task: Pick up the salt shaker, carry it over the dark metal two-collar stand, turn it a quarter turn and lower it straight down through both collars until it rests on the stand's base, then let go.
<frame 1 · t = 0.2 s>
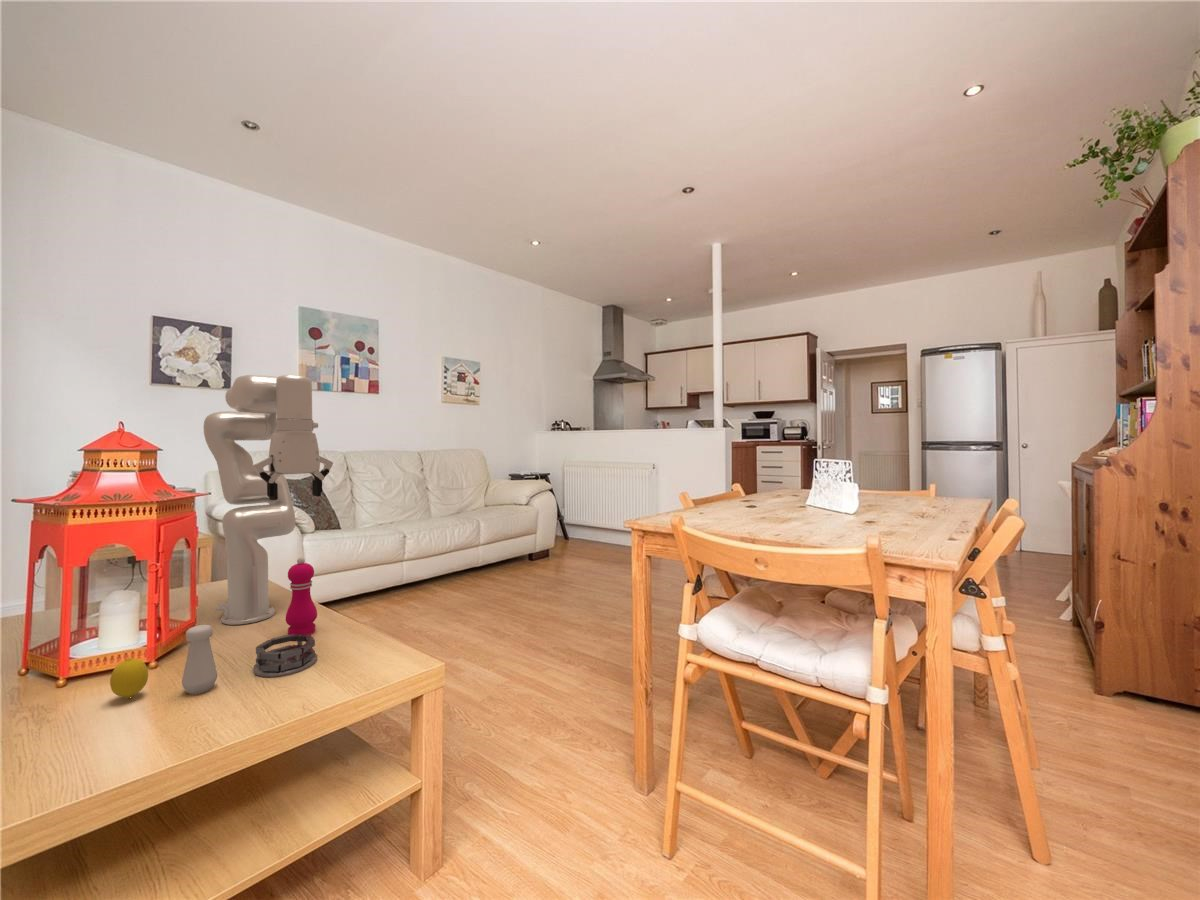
hand: (295, 497, 124), 37 cm above the table, tool pointing down, fingers open, 9 cm apart
salt shaker: (200, 690, 105), on the table
pepper mill: (301, 633, 135), on the table
lemon: (129, 699, 101), on the table
collar stand: (286, 664, 116), on the table
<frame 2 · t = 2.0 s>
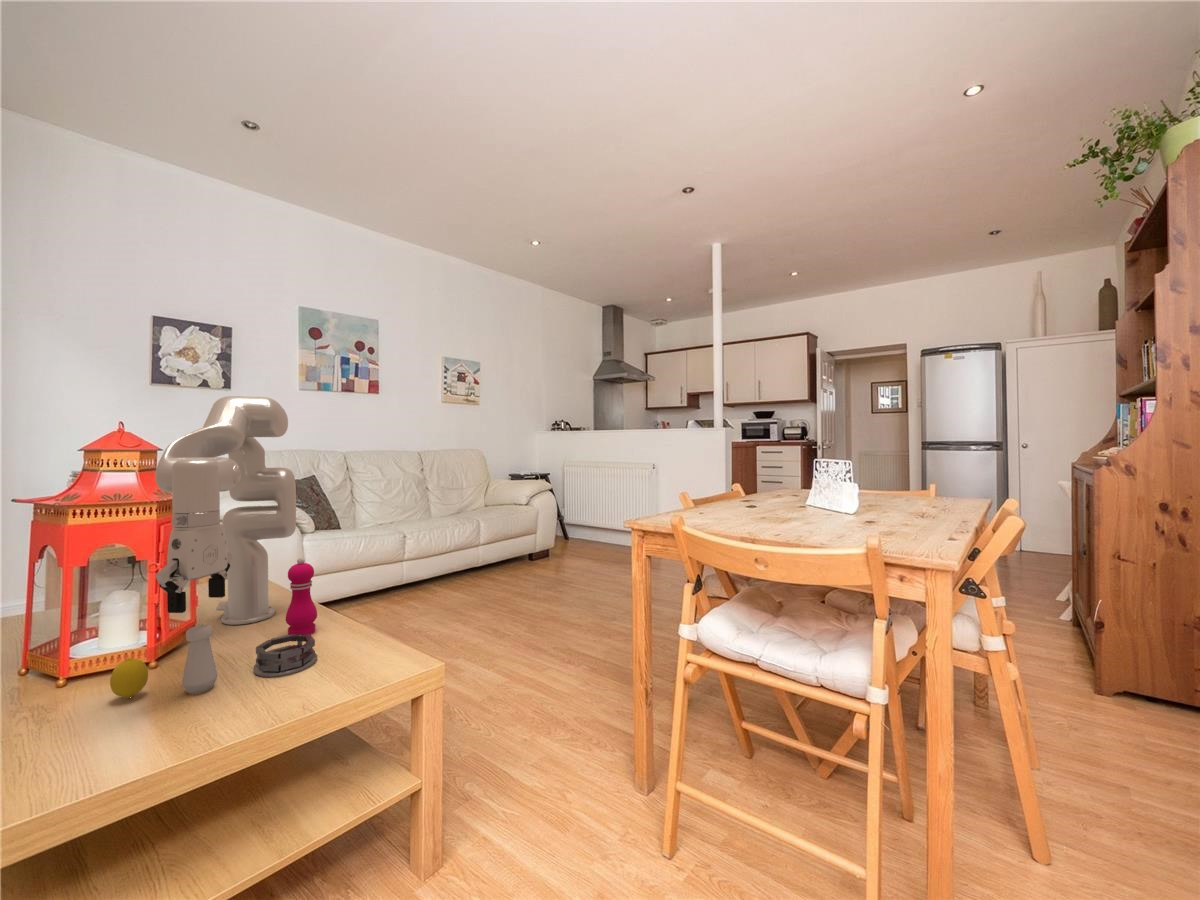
hand: (197, 604, 104), 18 cm above the table, tool pointing down, fingers open, 9 cm apart
nothing on the table moved.
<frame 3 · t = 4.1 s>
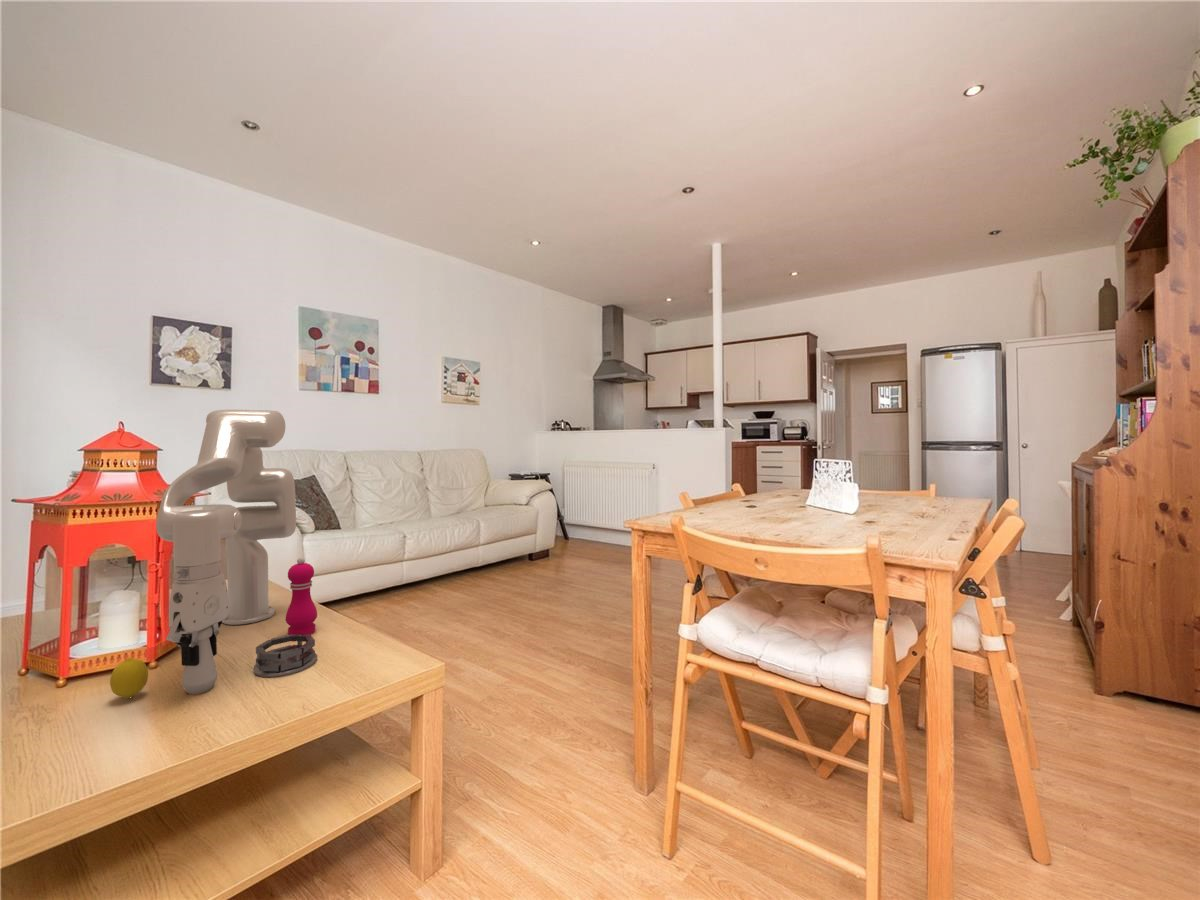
hand: (199, 659, 104), 6 cm above the table, tool pointing down, fingers closed on salt shaker, 3 cm apart
salt shaker: (200, 690, 105), on the table, touching gripper
everything else where it was.
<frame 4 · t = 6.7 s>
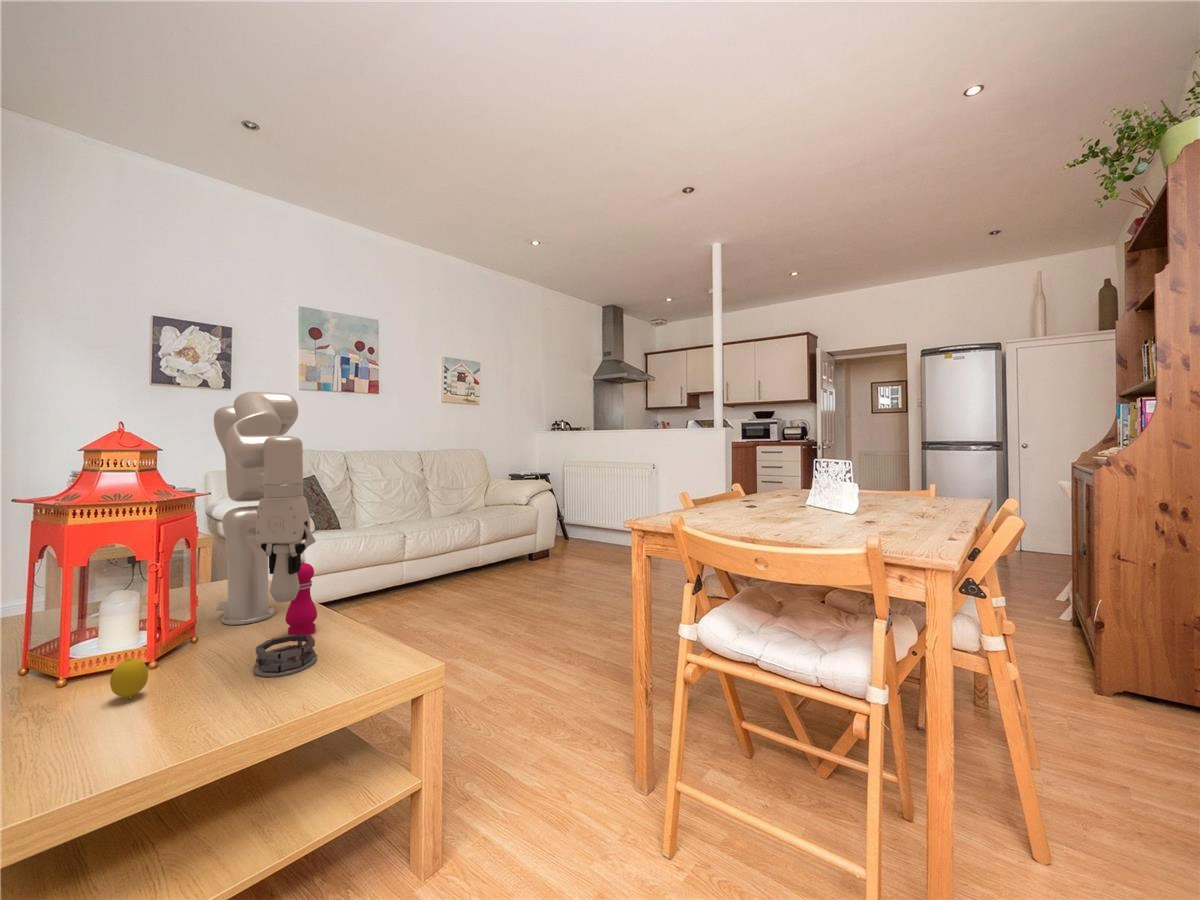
hand: (285, 571, 115), 21 cm above the table, tool pointing down, fingers closed on salt shaker, 3 cm apart
salt shaker: (285, 600, 116), point 15 cm above the table, touching gripper
everything else where it was.
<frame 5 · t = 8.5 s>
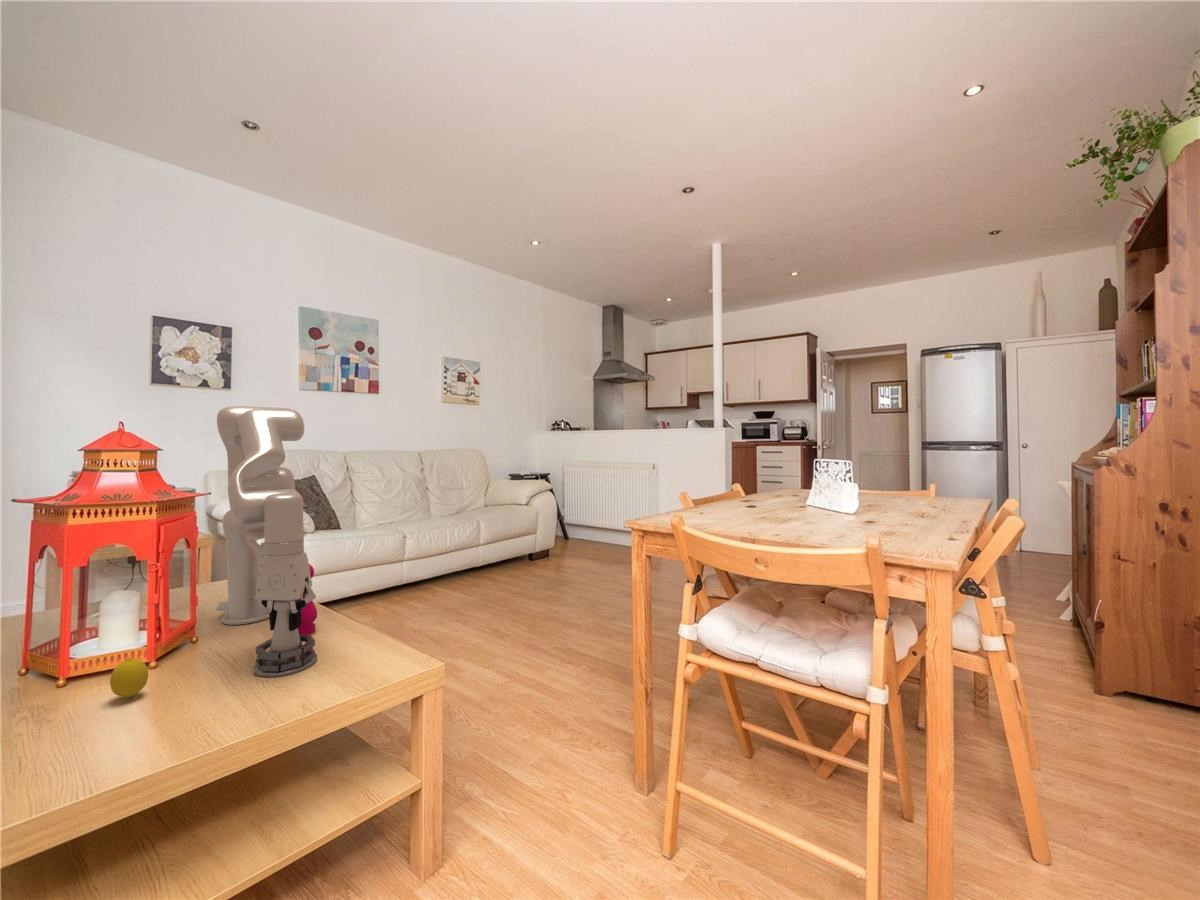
hand: (285, 627, 116), 8 cm above the table, tool pointing down, fingers closed on salt shaker, 3 cm apart
salt shaker: (285, 655, 116), point 2 cm above the table, touching gripper
everything else where it was.
when the fingers open (8 cm above the table, at t = 9.6 s): salt shaker stays where it is, resting on collar stand.
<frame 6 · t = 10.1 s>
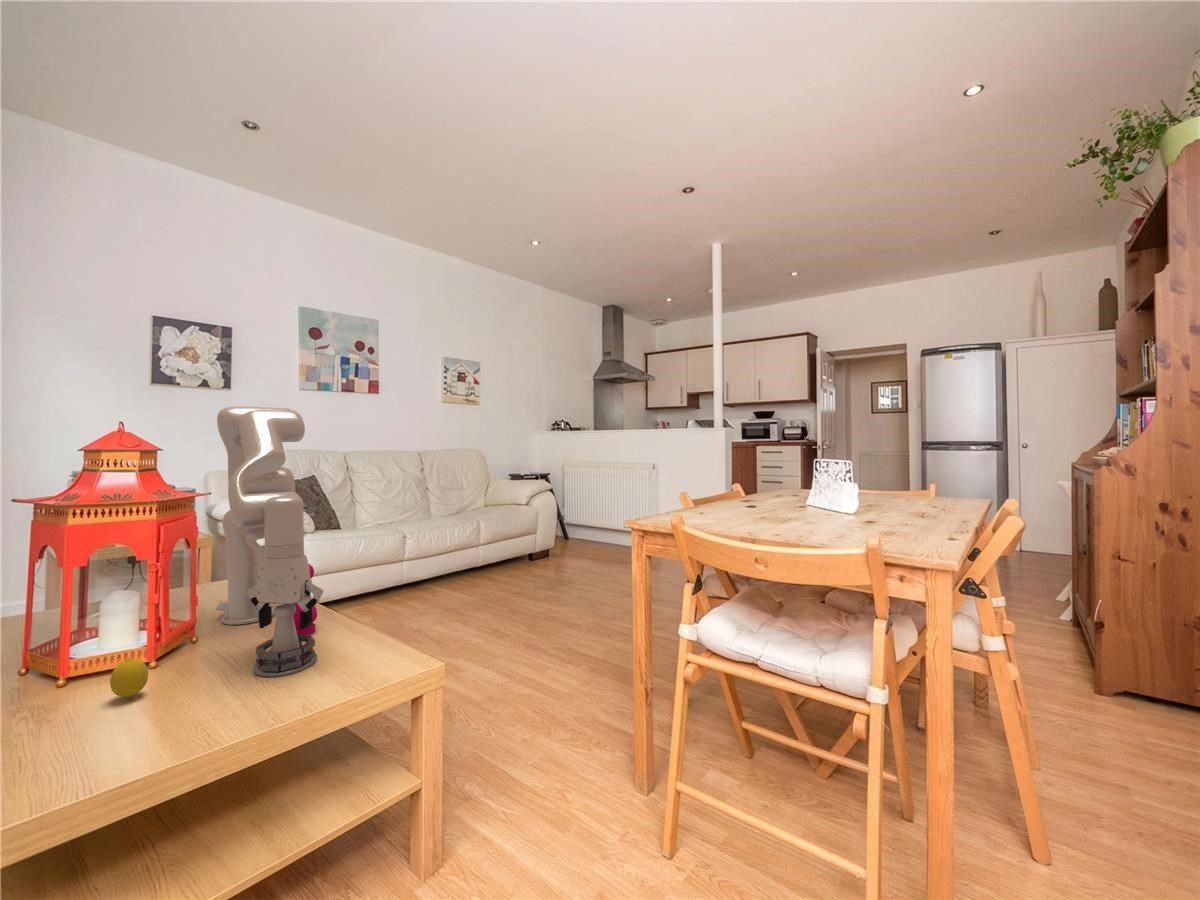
hand: (285, 626, 116), 9 cm above the table, tool pointing down, fingers open, 9 cm apart
salt shaker: (285, 662, 116), resting on collar stand
everything else where it was.
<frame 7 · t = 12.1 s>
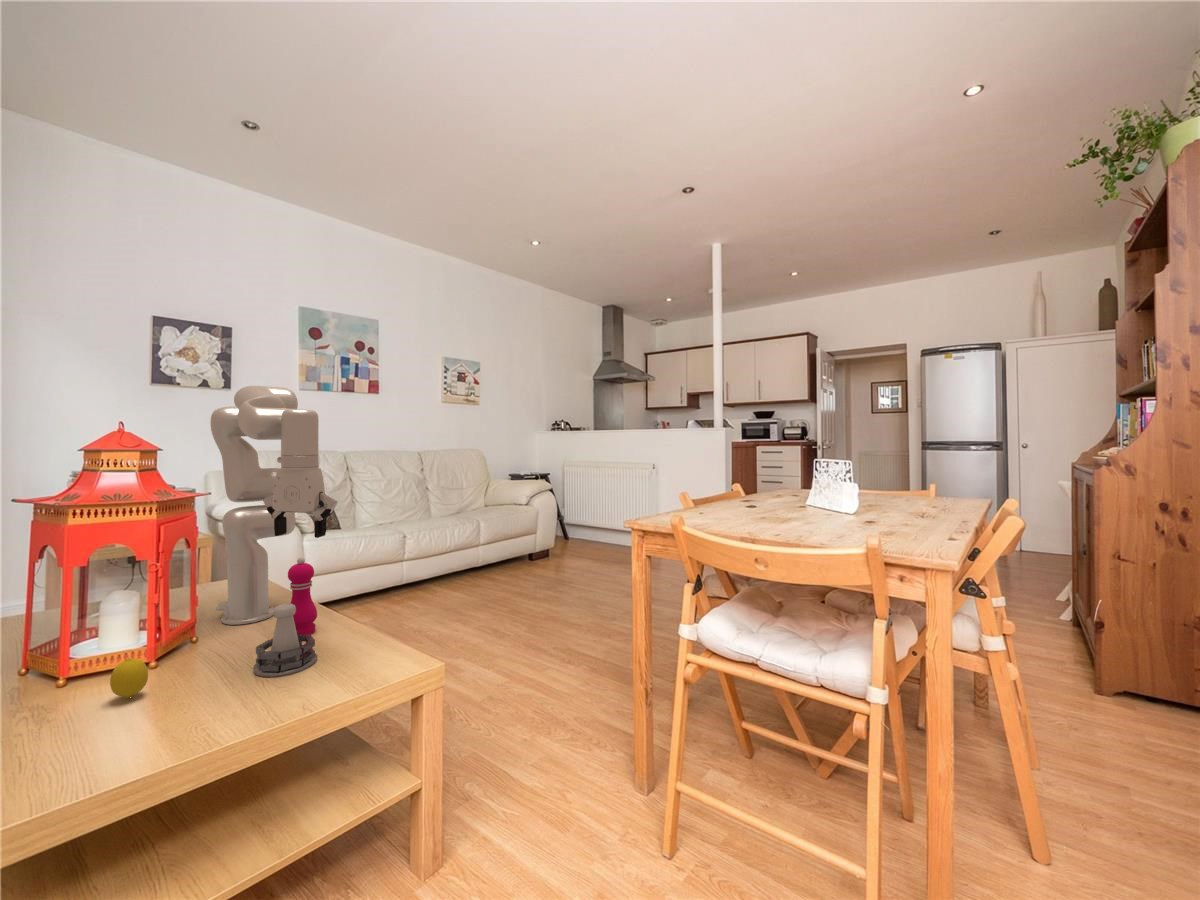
hand: (300, 535, 119), 29 cm above the table, tool pointing down, fingers open, 9 cm apart
nothing on the table moved.
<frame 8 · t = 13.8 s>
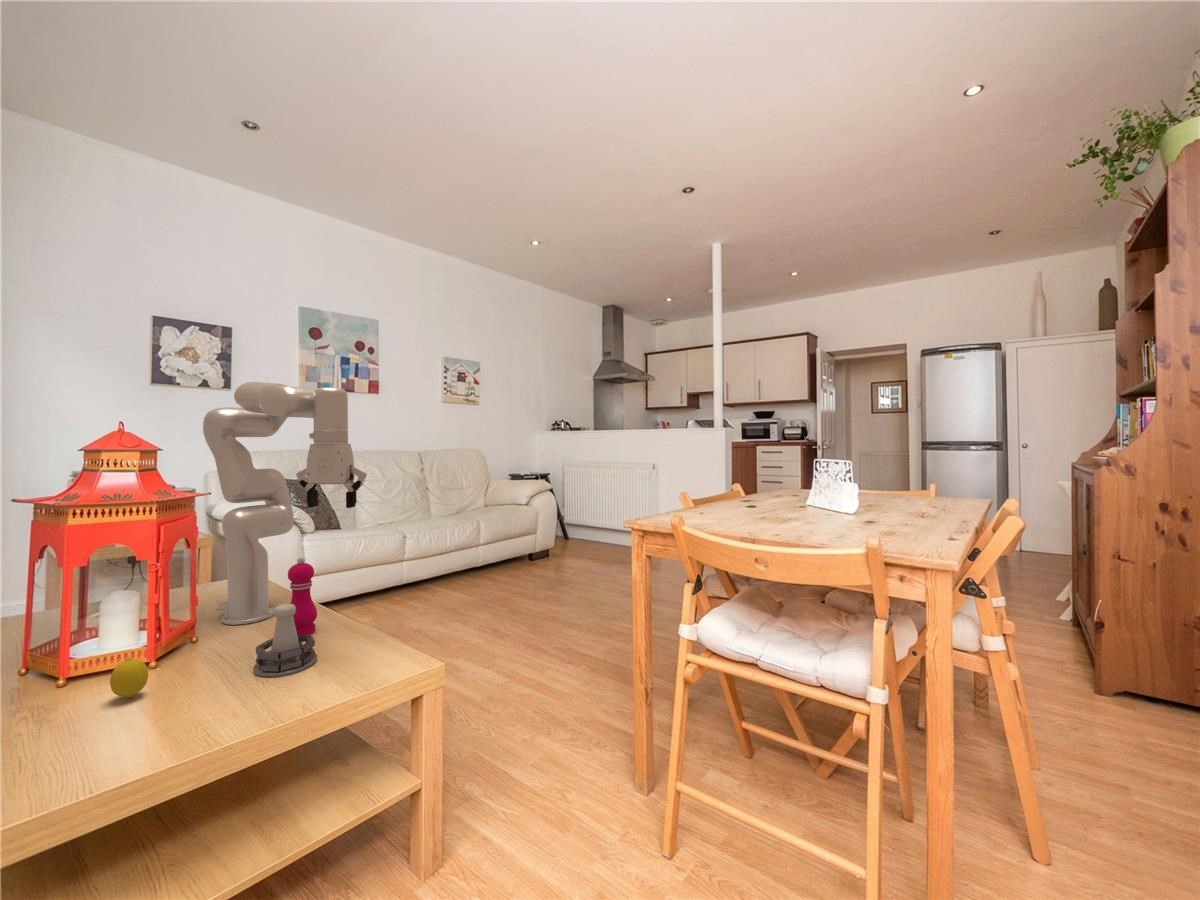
hand: (331, 507, 127), 34 cm above the table, tool pointing down, fingers open, 9 cm apart
nothing on the table moved.
at the end: salt shaker 0.2 cm from the collar stand (horizontally); salt shaker resting on collar stand; salt shaker tilted 0° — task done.
